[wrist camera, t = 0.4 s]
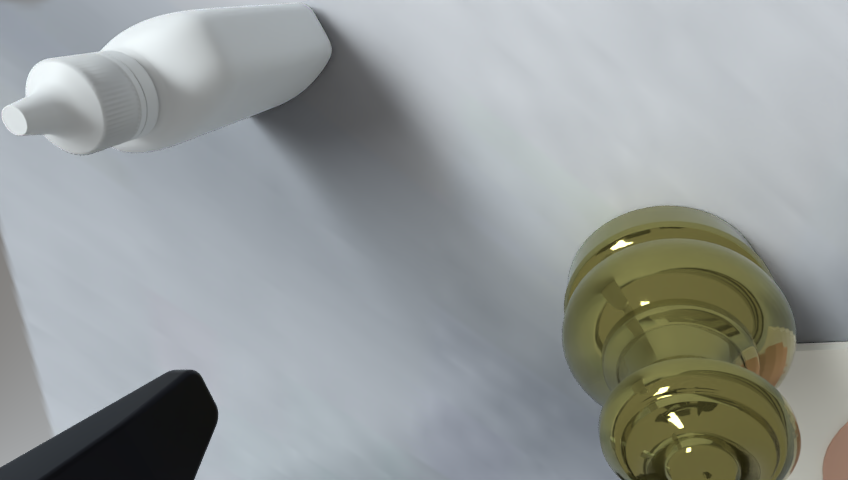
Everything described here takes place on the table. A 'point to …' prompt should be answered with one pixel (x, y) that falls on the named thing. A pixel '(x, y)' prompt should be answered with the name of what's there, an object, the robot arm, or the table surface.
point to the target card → (820, 409)
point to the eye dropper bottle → (173, 79)
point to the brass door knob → (682, 349)
